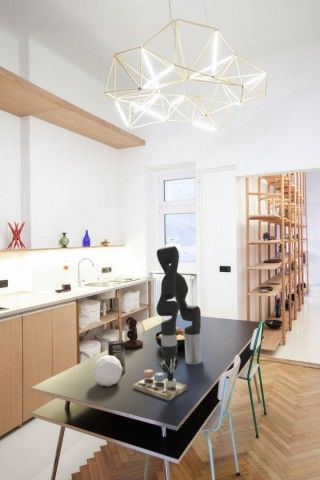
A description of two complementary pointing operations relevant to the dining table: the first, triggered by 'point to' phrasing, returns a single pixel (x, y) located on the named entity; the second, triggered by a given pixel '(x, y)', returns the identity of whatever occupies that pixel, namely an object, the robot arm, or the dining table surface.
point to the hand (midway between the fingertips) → (170, 380)
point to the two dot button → (148, 373)
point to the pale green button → (170, 383)
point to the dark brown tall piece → (132, 335)
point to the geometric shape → (107, 370)
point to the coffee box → (117, 351)
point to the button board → (159, 388)
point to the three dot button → (159, 376)
